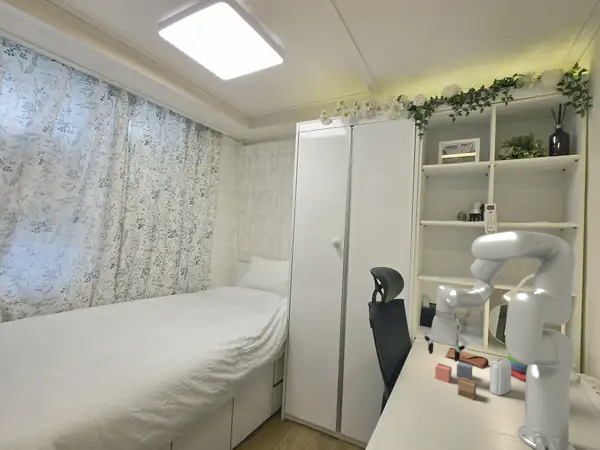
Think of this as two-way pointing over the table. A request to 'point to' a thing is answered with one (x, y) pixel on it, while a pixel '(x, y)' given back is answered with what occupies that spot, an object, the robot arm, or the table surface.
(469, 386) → the tan block
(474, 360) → the sunglasses case
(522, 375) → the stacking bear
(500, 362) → the photo printer
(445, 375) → the pink cube
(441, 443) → the table surface
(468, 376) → the slate block
